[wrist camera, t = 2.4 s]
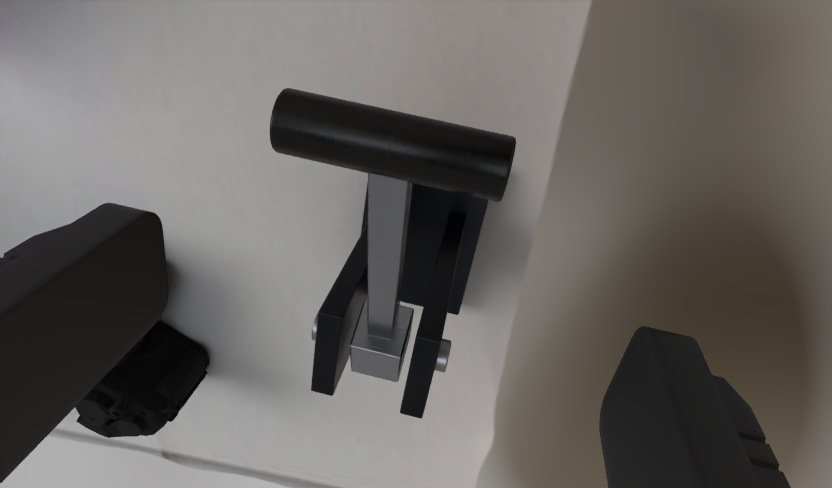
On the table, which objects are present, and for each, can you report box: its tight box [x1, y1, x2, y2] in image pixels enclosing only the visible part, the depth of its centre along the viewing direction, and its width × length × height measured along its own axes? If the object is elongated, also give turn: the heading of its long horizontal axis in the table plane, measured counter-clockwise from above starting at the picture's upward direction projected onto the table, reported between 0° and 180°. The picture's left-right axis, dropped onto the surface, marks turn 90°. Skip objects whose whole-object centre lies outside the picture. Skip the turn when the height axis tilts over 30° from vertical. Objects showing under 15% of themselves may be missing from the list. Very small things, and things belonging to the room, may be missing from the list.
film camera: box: [75, 321, 209, 438], centre depth 36 cm, size 15×10×9 cm, turn 55°
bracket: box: [311, 183, 488, 418], centre depth 27 cm, size 10×7×13 cm
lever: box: [270, 88, 516, 382], centre depth 19 cm, size 14×6×2 cm, turn 170°
